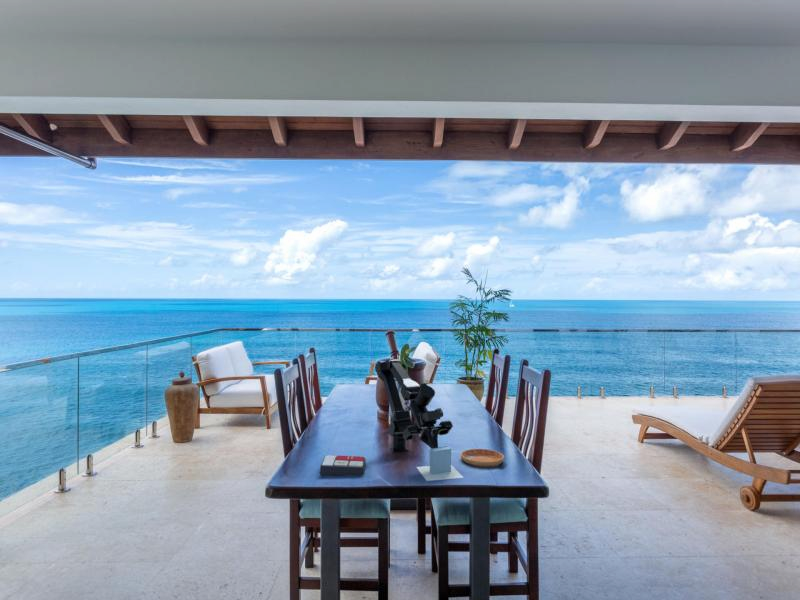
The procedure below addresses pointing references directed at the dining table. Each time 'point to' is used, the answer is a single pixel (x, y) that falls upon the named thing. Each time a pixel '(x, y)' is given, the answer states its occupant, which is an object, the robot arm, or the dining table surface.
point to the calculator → (342, 466)
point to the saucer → (482, 457)
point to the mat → (448, 475)
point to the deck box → (440, 460)
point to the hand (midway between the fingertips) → (436, 451)
